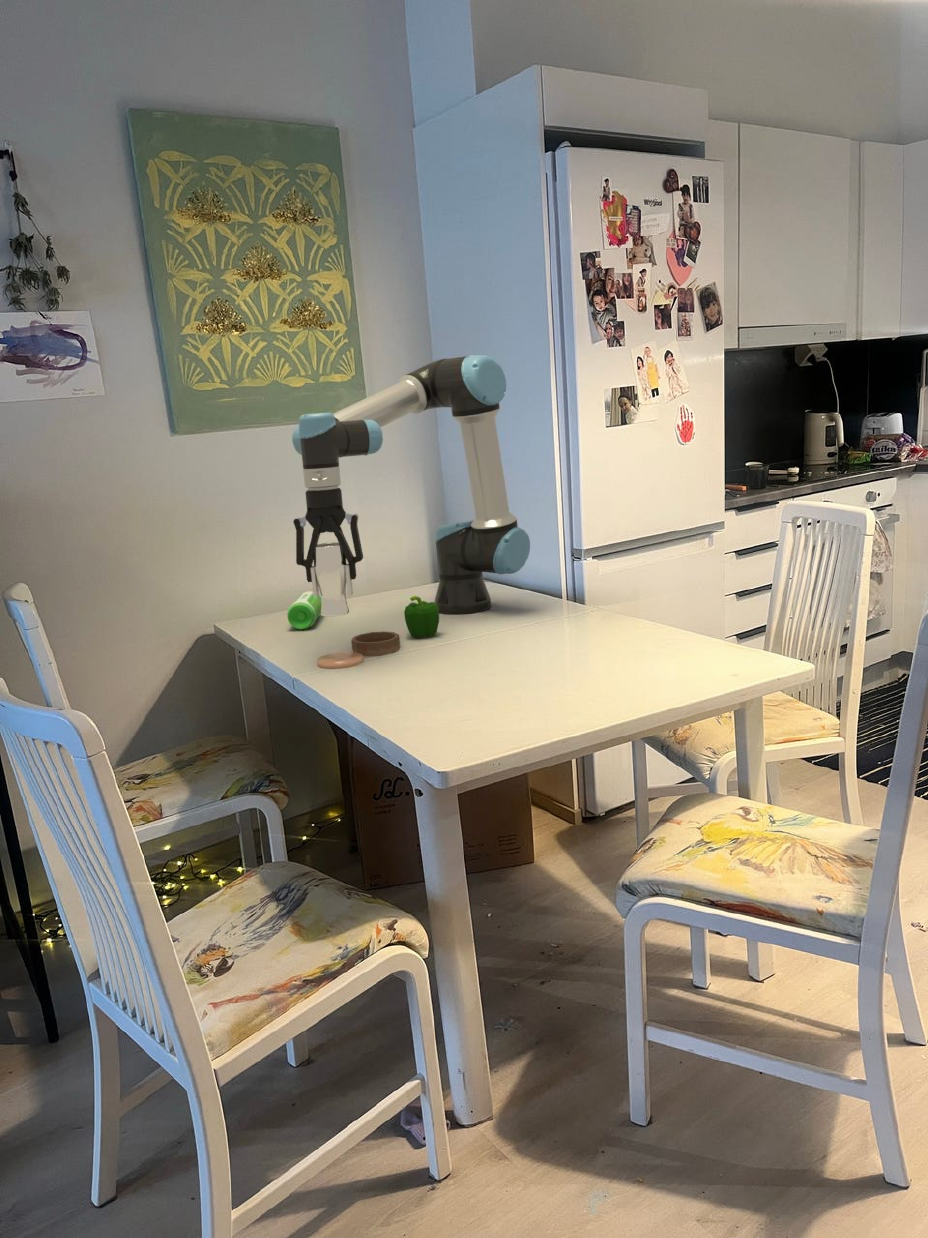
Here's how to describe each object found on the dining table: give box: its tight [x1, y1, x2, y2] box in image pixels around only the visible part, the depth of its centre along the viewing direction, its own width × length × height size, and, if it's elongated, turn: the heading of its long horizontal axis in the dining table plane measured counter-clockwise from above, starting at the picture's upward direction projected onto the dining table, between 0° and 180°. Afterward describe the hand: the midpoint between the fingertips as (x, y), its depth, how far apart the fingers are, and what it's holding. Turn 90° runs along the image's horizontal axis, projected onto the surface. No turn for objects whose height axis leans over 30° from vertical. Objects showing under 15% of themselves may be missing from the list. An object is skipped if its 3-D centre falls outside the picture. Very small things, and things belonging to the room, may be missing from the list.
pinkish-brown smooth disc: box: [316, 651, 364, 670], centre depth 209 cm, size 10×10×1 cm
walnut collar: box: [350, 631, 401, 657], centre depth 217 cm, size 11×11×3 cm
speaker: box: [287, 590, 321, 631], centre depth 250 cm, size 18×7×8 cm, turn 0°
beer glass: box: [313, 541, 350, 617], centre depth 205 cm, size 7×7×15 cm
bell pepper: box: [404, 595, 440, 639], centre depth 227 cm, size 8×8×10 cm
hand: (333, 595), depth 206 cm, fingers closed on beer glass, 7 cm apart
